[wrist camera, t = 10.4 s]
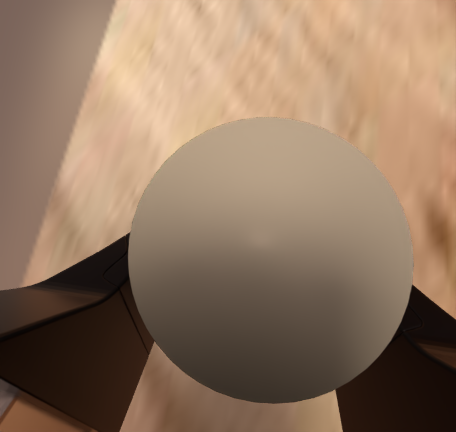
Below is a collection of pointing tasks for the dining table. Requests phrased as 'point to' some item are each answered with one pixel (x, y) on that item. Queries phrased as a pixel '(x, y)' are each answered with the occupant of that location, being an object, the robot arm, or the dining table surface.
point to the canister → (270, 260)
